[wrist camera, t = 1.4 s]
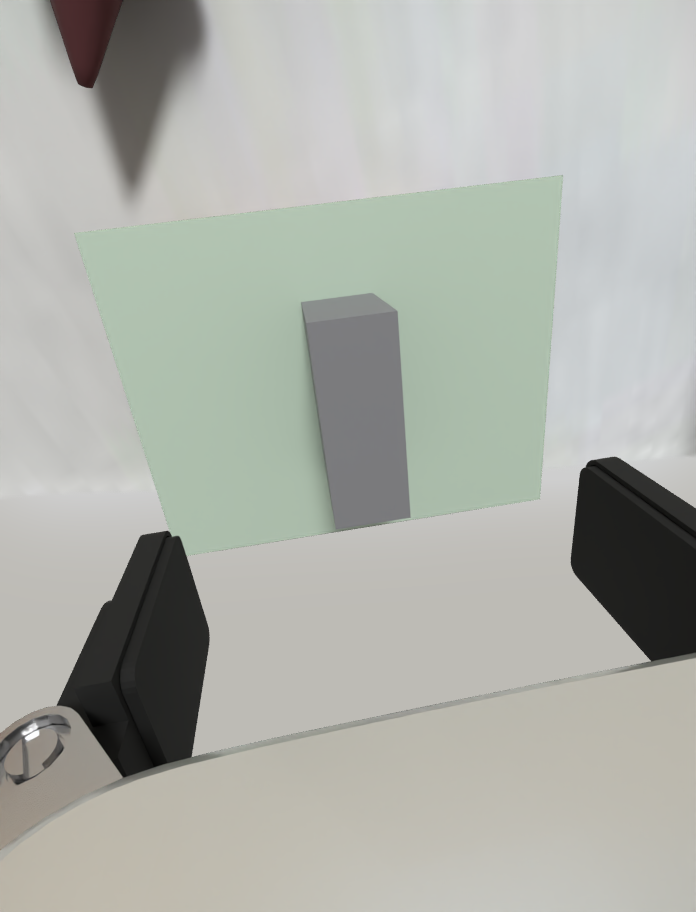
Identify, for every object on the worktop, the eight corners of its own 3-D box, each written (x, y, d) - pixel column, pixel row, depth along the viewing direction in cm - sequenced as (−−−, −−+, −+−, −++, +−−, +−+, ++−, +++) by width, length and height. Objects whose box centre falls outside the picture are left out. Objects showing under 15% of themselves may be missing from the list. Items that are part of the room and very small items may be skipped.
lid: (539, 179, 21) (647, 159, 15) (523, 481, 28) (594, 556, 21) (92, 232, 20) (5, 234, 14) (185, 535, 26) (154, 630, 20)
